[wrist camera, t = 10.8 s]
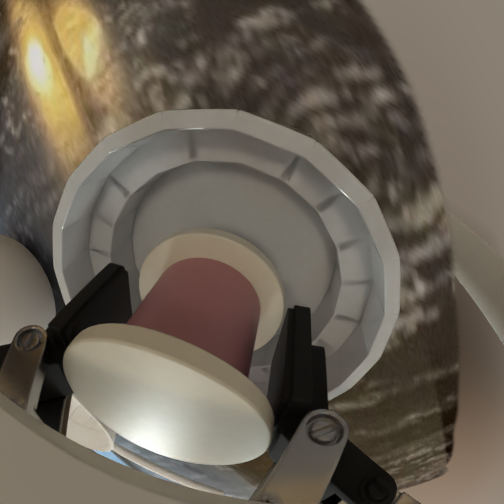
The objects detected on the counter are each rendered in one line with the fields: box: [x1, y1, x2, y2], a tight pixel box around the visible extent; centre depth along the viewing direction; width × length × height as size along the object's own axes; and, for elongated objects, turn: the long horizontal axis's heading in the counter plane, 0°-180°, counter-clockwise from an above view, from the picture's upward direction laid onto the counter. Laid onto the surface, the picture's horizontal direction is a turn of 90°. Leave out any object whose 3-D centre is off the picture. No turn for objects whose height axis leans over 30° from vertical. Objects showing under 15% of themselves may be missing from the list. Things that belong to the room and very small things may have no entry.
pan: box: [66, 393, 225, 496], centre depth 26 cm, size 24×41×4 cm, turn 51°
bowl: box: [53, 109, 401, 401], centre depth 12 cm, size 14×14×5 cm
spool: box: [63, 228, 285, 465], centre depth 9 cm, size 6×6×6 cm
